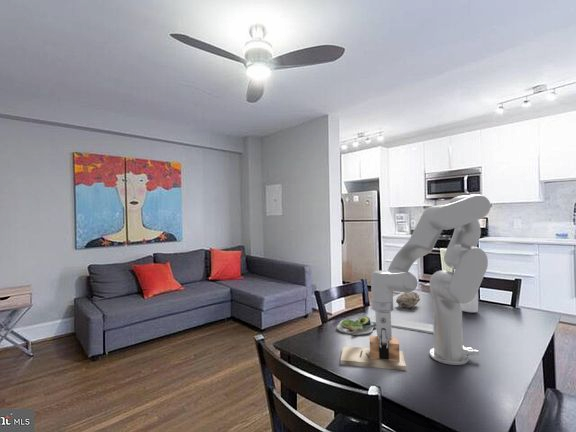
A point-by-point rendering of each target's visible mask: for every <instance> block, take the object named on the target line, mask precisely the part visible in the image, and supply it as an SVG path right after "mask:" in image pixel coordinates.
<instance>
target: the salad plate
mask: <svg viewBox="0 0 576 432" xmlns="http://www.w3.org/2000/svg"><path fill="white" fill-rule="evenodd" d="M369 318H370V317H369V316H360V317H358V319H351V318H347V319H346V318H345V319H342V320H340V322H338V324H337V325H336V329H337V331H339V333H343V334H345V335H353V336H364V335H368V334H371V333H372V332H373V330H374V328H376V324H373V323H372V322H370V319H369ZM343 328H346V329H348V330H347V331H345V330H344V329H343Z"/></svg>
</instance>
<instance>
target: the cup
mask: <svg viewBox="0 0 576 432" xmlns="http://www.w3.org/2000/svg"><path fill="white" fill-rule="evenodd" d="M478 291H479V290H478ZM478 291H477V293H476V295H475V297H474V298H473V300H472V301H470V302H469V303H466V304H461V308H462V312H467V313H477V312H478V311H479V293H478Z"/></svg>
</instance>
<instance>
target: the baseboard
mask: <svg viewBox="0 0 576 432" xmlns="http://www.w3.org/2000/svg"><path fill="white" fill-rule="evenodd" d="M368 318H369V319H370V322H372V323H373V324H376V316H375V315H371V316H370V317H368ZM391 328H395V329H396V328H398V329H401V330H402V329H403V330H408V331H415V332H421V333H426V334H433V335H434V332H433V323H432V324H430V323H424V322H418V321H417V322H416V321H412V320H404V319H398V318H392V317H391Z"/></svg>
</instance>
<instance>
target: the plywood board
mask: <svg viewBox="0 0 576 432" xmlns="http://www.w3.org/2000/svg"><path fill="white" fill-rule="evenodd" d="M399 354H400V361H391V360H378V359H370V347H359V346H358V347H356V346H345V345H343V347H342V352H341V355H340V356H341V357H340V365H346V366H356V367H366V368H377V369H386V370H387V369H388V370H398V371H400V370H401V371H407V364H406V361H405V356H404V352H403V350H399Z"/></svg>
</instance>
